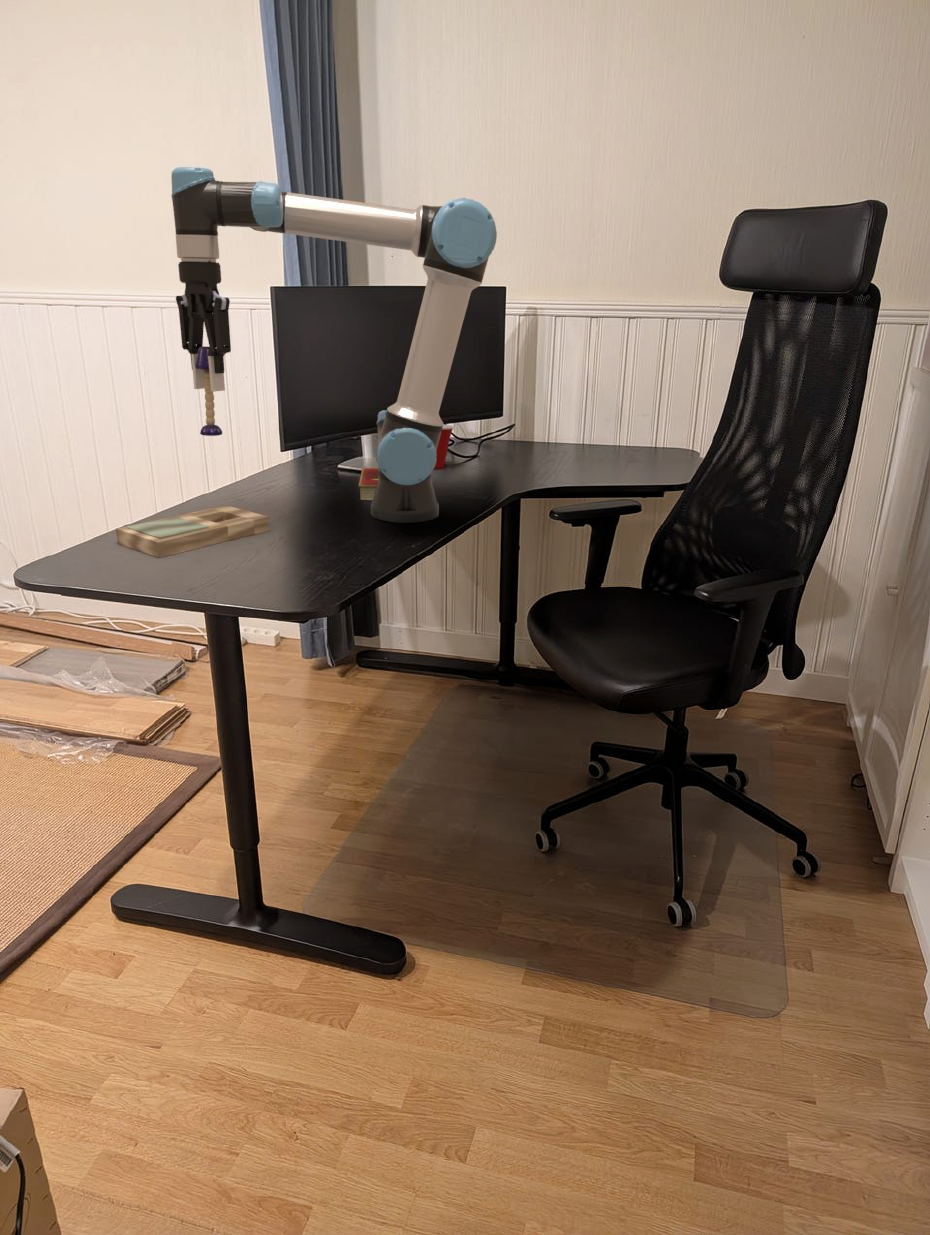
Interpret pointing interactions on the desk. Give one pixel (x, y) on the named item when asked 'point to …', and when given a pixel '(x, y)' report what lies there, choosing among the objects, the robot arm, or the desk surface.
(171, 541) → the light wooden flat block
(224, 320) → the robot arm
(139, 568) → the desk surface
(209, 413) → the toy lamp
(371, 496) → the hardcover book
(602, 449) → the desk surface
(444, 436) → the plastic cup
